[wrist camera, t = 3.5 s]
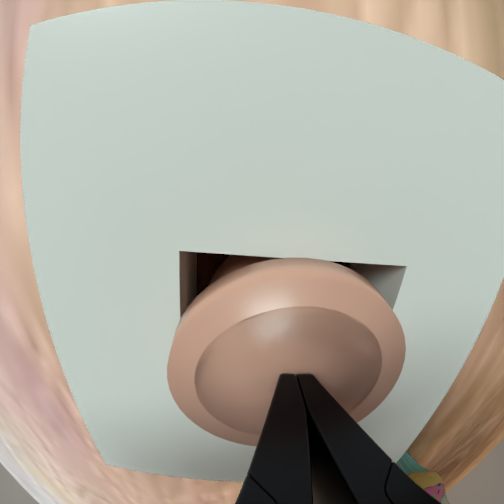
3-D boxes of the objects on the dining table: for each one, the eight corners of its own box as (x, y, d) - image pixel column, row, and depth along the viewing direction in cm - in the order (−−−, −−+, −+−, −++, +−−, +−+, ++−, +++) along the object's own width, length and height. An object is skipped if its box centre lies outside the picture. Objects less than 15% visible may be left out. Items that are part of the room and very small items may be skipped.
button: (378, 227, 10) (438, 283, 7) (339, 367, 13) (363, 440, 9) (187, 211, 10) (158, 267, 6) (188, 363, 12) (176, 442, 9)
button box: (471, 97, 10) (539, 102, 6) (373, 416, 17) (392, 467, 13) (90, 47, 9) (30, 25, 5) (122, 409, 16) (105, 464, 12)
